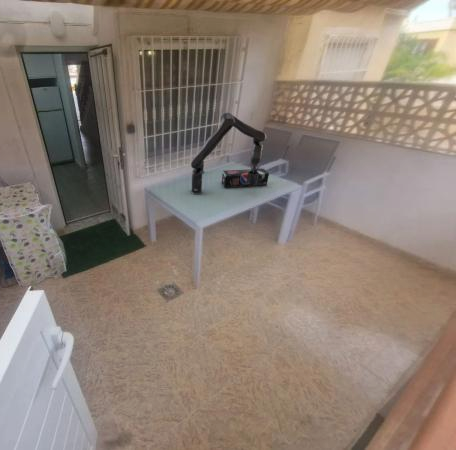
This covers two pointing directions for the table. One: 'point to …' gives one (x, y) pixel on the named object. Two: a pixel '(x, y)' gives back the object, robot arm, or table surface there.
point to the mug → (253, 177)
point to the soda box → (242, 178)
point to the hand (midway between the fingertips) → (252, 176)
